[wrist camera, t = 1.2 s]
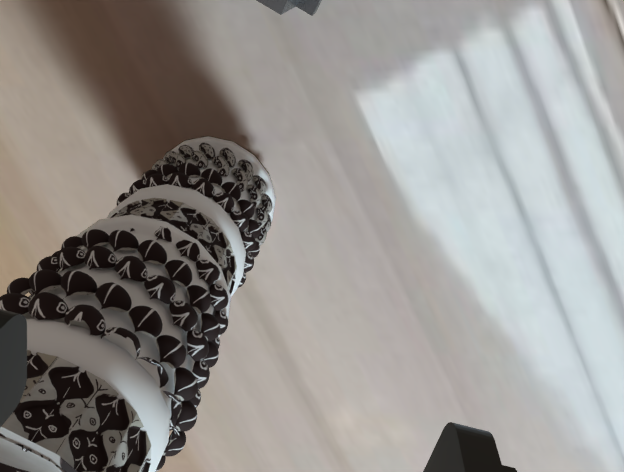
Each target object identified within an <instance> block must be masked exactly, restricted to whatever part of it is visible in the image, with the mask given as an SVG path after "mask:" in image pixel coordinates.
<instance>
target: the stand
mask: <svg viewBox="0 0 624 472" xmlns="http://www.w3.org/2000/svg"><path fill="white" fill-rule="evenodd" d="M257 1H258V2H260V3H262V4H264V5H265V6H267V7H269V8H270V9H272V10H274V11H275V12H277V13H279V14H280V15H282V14H283V13H285V12H287V11H288V10H290V9H292V8H293V7H295V6H296V7H298V8H300V9H301V10H303V11H305V12H306V13H308V14H310V15H313V14H315V13H316V11H317V9H318V7H319V5H320V3H321V1H322V0H257Z"/></svg>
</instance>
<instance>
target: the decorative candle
mask: <svg viewBox="0 0 624 472" xmlns="http://www.w3.org/2000/svg"><path fill="white" fill-rule="evenodd" d="M275 200H276V197H275V193H274V189H273V186H272V182H271V178H270V175H269V174H268V173H267V171H266V170H265V169H264V167H263V166H262V165H261V163H260V162H259V161H258V159H257V158H256V157H255V155H253V154H252V153H250V152H248V151H247V150H245V149H244V148H242V147H241V146H239V145H238V144H236V143H234V142H233V141H228V140H223V139H219V138H214V137H209V136H207V137H201V138H196V139H191V140H186V141H183V142H182V143H181V144H179V145H178V146H177V147H175V148H174V149H172V150H171V151H169V152H167V153H166V154H165V156H164V158H163V159H160V160H158V161H157V162H156V163H155V164H154V165H153V166H152V170H149V171H147V172H145V173H144V174H143V175H142V180H138V181H136V182H134V183H133V184H132V186H131V187H130V189H129V193H123V194H121V195H120V196H119V198H118V200H117V207H116V208H115V209H113V210H112V211H111V212H110V213H109V215H108V217H107V219H100V220H98V221H97V222H96V223H94V224H93V225H91V226H90V227H88V228H87V229H86V230H84V231H83V232H81V233H80V234H79V235H77V236H74V237H70V238H68V239H66V240H65V241H64V242H63V244H62V249H61V250H60V251H57V252H55V253H54V254H53V255H52V256H49V257H46V258H44V259H42V260H41V261H40V262H39V264H38V265H37V272H35V273H33V274H32V275H31V277H30V278H29V279H28V278H19V279H16V280H14V281H13V282H11V283H10V285H9V286H8V288H7V294H5V295H3V296H1V297H0V309H2V310H6V311H10V312H14V313H18V314H22V315H24V316H25V318H26V321H27V381H26V386H25V390H24V393H23V395H22V398H21V400H20V402H19V404H18V405H17V407H16V409H15V410H14V412H13V413H12V414H11V415H10V417H9V418H8V419H7V420H6V421H5V423H4V424H3V425H2V426H1V428H0V472H157V471H158V470H159V469H160V468H162V466H163V465H164V463H165V456H174V455H176V454H177V453H179V452H180V451H181V450H182V449H183V447H184V445H185V442H186V435H185V433H184V431H188V430H190V429H191V428H192V427H193V426H194V425H195V423H196V419H197V410H196V407H197V406H198V405H199V403H200V400H201V393H200V391H199V389H200V388H202V387H204V386H205V385H206V383H207V382H208V379H209V374H210V372H209V368H210V367H212V366H214V365H215V364H216V362H217V360H218V355H219V353H218V348H219V345H220V340H219V336H220V335H221V334H223V333H224V332H225V330H226V329H227V326H228V317H229V309H230V300H231V297H232V295H233V294H234V292H235V291H236V289H237V288H238V287H241V286H242V285H243V284H244V282H245V280H246V274H245V273H246V272H248V271H250V270H251V269H252V268H253V265H254V258H255V257H256V256H257V255H258V253H259V249H260V248H259V246H260V245H261V244H263V242H264V241H265V239H266V234H267V232H268V231H269V229H270V226H271V222H272V219H273V213H274V207H275ZM28 292H29V293H30V294H31V295H30V296H29V297H27V296H25V294H27V293H28ZM170 430H173V432H172V433H171V435H170V437H169V431H170Z"/></svg>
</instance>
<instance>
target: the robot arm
mask: <svg viewBox="0 0 624 472" xmlns="http://www.w3.org/2000/svg"><path fill="white" fill-rule="evenodd" d="M26 381H27V321H26V318H25V316H24V315H22V314H18V313H14V312H10V311H6V310H2V309H0V428H1V426H2V425H3V424H4V423H5V421H6V420H7V419H8V418H9V417H10V415H11V414H12V413H13V412H14V410H15V409H16V407H17V405H18V404H19V402H20V400H21V398H22V395H23V393H24V390H25V386H26ZM423 472H517V471H516V469H515V468H512V467H508V466H504V465H502V464H501V461H500V457H499V454H498V450H497V447H496V444H495V440H494V437H493V436H492V434H491V433H490V432H488V431H484V430H480V429H476V428H472V427H468V426H464V425H460V424H456V423H452V422H450V423H448V424H447V425H446V426H445V427H444V429H443V431H442V433H441V436H440V438H439V440H438V442H437V444H436V446H435V448H434V450H433V452H432V455H431V457H430V459H429V461H428V463H427V465H426V467H425V469H424V471H423Z"/></svg>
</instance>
